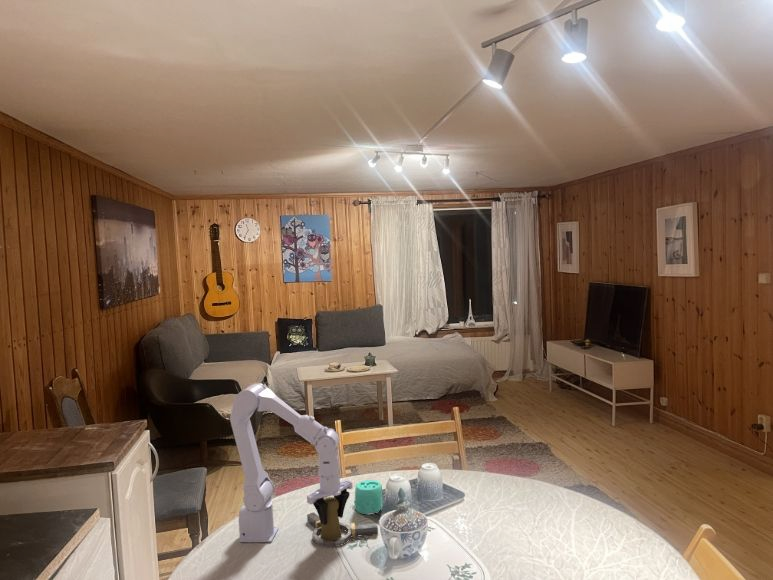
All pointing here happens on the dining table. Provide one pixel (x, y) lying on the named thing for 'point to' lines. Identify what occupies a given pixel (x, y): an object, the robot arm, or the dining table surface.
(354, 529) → the grey handled ring
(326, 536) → the olive tapered pawn
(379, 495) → the teal tapered cylinder
